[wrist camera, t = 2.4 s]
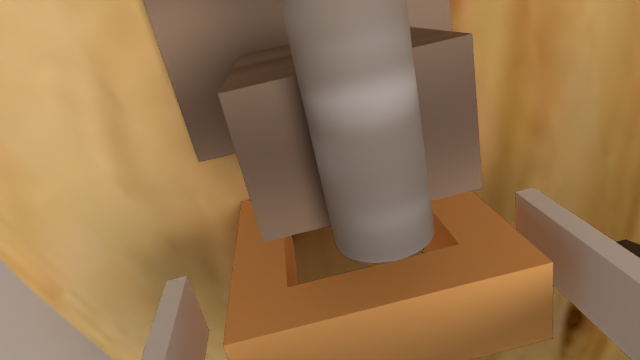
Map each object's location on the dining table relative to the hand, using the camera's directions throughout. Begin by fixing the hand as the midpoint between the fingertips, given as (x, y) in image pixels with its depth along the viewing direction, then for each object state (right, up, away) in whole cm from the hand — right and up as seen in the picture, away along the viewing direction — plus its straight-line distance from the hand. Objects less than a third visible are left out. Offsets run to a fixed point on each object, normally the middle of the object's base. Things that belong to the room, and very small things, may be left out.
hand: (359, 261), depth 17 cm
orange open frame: (0, +2, +6) cm, 6 cm away
